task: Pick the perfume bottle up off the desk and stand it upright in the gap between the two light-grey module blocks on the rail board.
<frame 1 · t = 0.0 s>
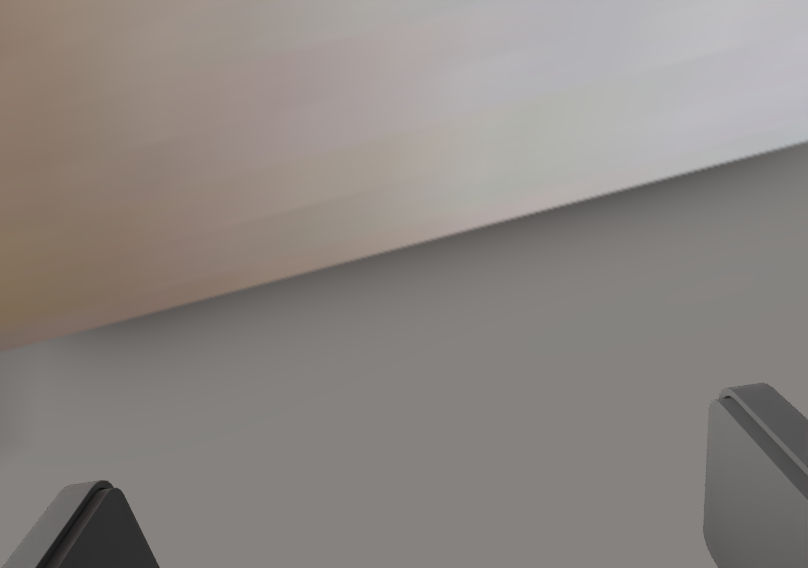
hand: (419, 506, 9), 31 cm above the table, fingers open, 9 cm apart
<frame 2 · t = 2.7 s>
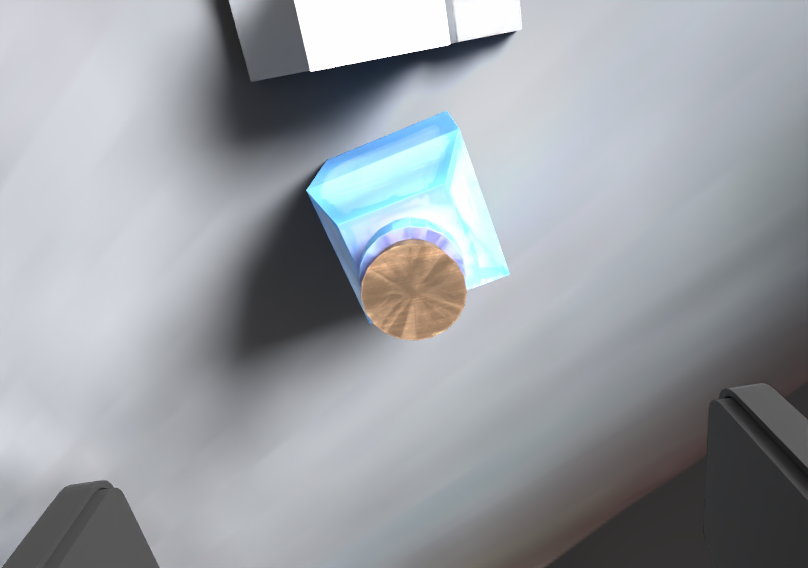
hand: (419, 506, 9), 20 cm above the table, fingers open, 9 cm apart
perfume bottle: (409, 194, 28), on the table
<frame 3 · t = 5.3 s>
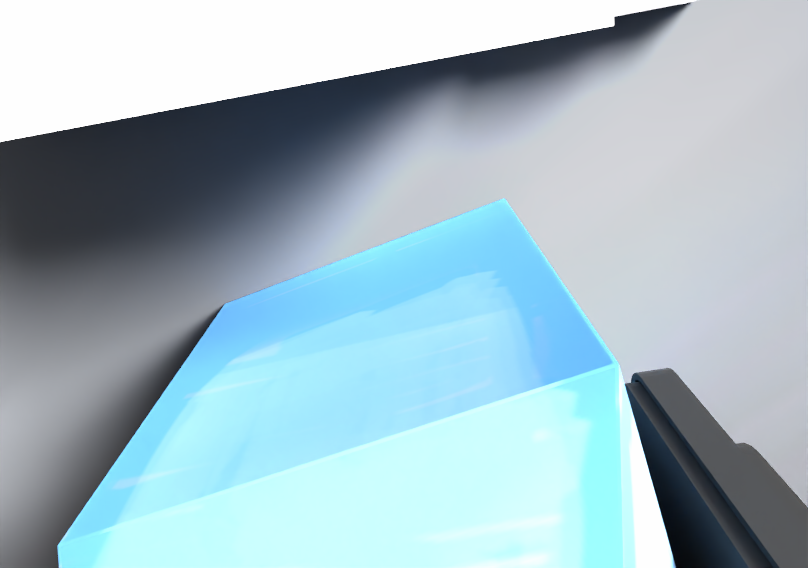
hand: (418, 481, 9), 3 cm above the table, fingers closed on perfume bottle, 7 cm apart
perfume bottle: (413, 369, 13), on the table, touching gripper
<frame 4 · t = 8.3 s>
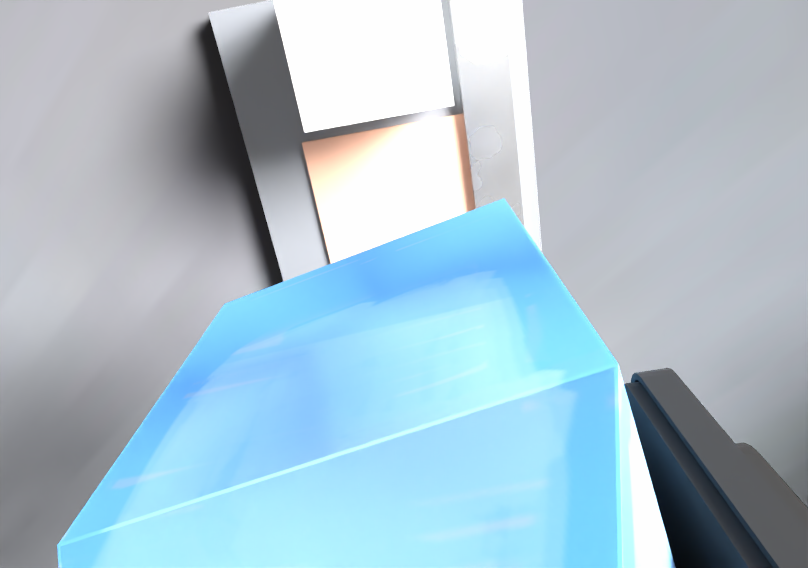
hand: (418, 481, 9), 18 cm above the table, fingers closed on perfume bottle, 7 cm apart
module rail: (401, 203, 25), on the table
perfume bottle: (413, 369, 13), point 14 cm above the table, touching gripper
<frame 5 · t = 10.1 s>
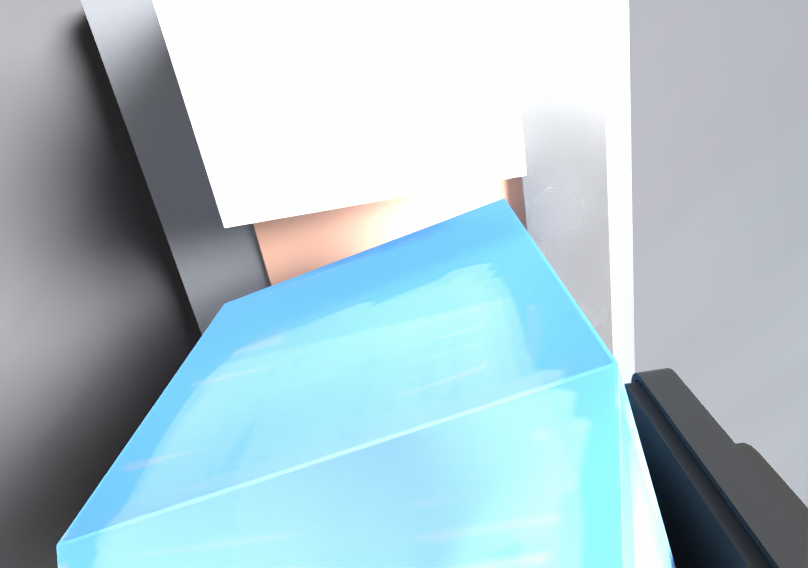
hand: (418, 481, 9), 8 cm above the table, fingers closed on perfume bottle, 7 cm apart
module rail: (413, 297, 16), on the table
perfume bottle: (413, 369, 13), point 4 cm above the table, touching gripper
when the fingers open (6 cm above the table, at t = 11.5 s): perfume bottle stays where it is, resting on module rail.
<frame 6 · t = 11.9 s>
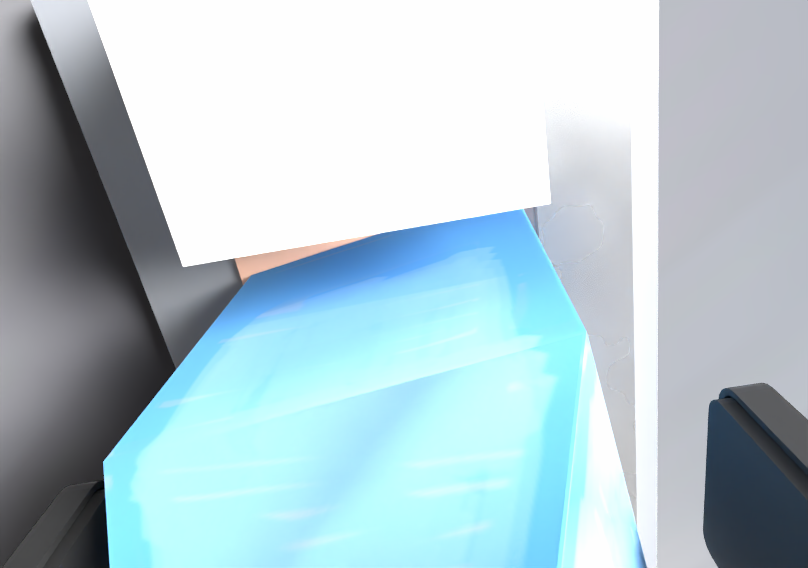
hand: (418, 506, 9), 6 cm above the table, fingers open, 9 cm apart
module rail: (411, 324, 15), on the table
perfume bottle: (422, 346, 14), point 1 cm above the table, touching module rail
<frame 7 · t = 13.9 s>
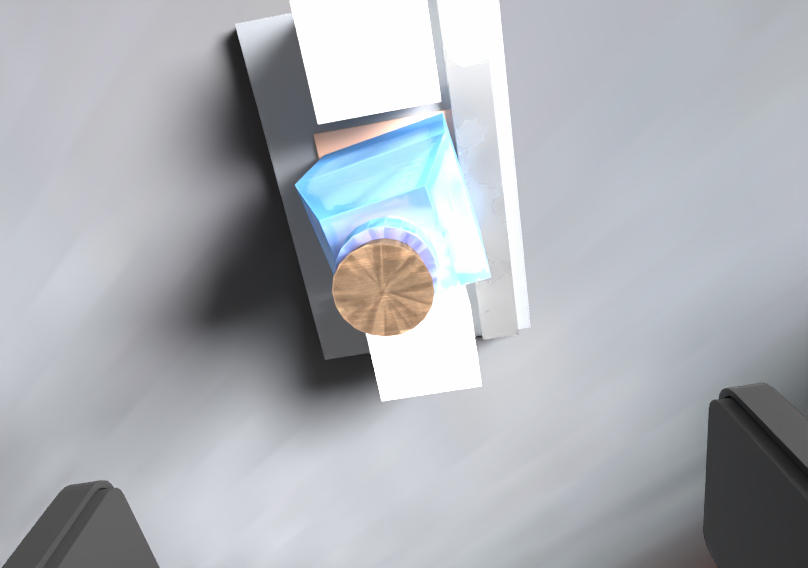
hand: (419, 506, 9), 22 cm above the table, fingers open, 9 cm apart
module rail: (399, 187, 29), on the table
perfume bottle: (403, 192, 28), point 1 cm above the table, touching module rail
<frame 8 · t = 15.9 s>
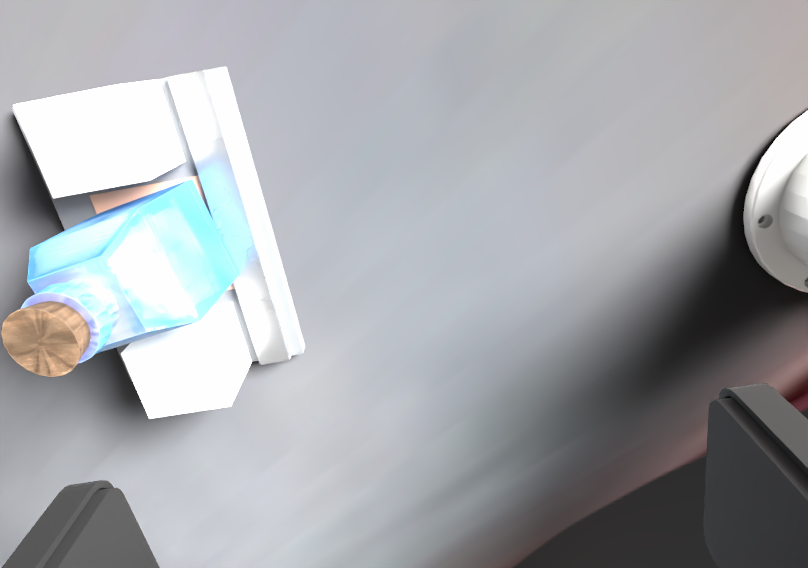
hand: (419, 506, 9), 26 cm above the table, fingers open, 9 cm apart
module rail: (176, 236, 35), on the table
perfume bottle: (172, 242, 33), point 1 cm above the table, touching module rail
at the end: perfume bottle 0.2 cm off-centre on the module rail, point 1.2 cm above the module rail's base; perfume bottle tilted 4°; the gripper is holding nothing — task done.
